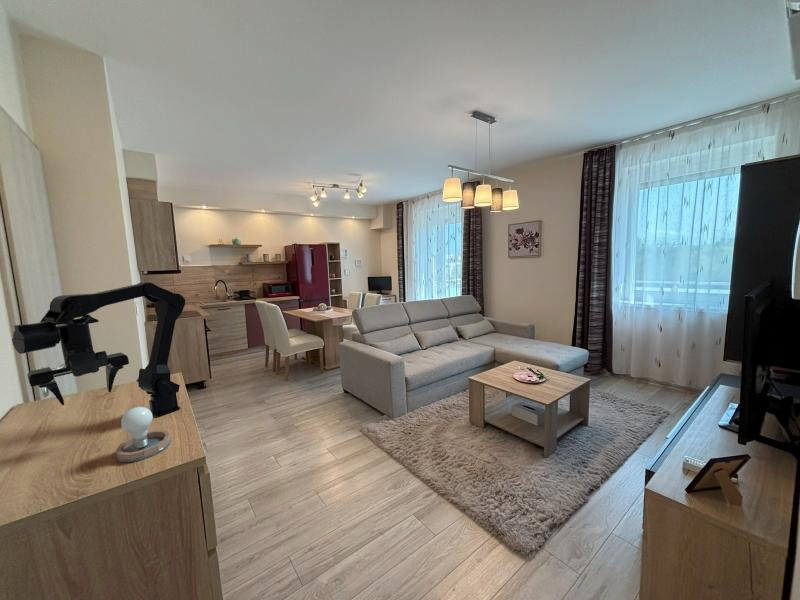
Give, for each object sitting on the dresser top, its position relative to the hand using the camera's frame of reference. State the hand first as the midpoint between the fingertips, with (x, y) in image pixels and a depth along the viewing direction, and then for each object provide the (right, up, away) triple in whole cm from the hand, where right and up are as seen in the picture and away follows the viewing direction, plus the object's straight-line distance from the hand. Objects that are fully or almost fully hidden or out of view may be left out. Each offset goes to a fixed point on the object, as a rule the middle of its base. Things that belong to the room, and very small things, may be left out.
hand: (87, 398), depth 87 cm
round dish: (+18, -13, -2) cm, 22 cm away
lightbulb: (+17, -12, -2) cm, 21 cm away
